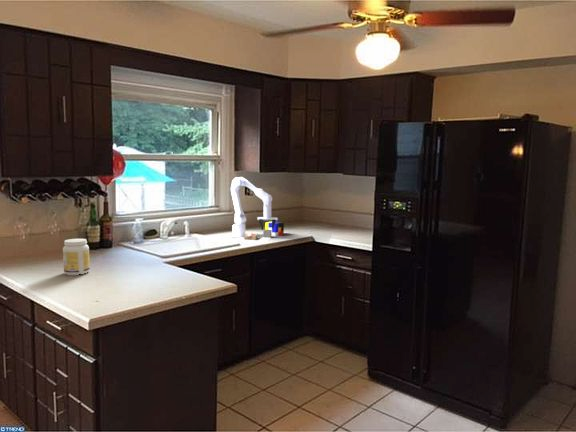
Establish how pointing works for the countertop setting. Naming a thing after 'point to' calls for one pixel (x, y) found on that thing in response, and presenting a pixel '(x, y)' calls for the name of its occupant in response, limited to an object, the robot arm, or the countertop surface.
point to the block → (267, 234)
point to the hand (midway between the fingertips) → (267, 229)
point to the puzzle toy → (275, 228)
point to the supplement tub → (76, 257)
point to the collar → (251, 237)
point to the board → (264, 238)
